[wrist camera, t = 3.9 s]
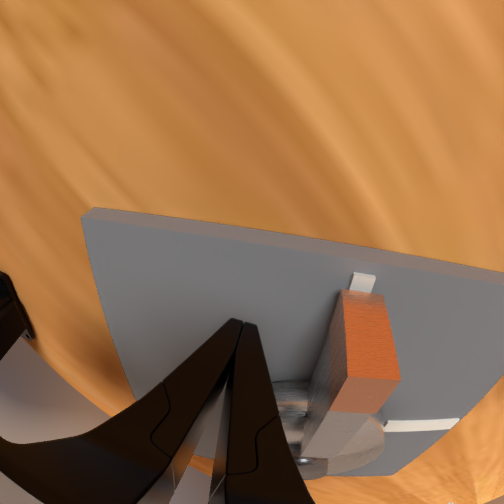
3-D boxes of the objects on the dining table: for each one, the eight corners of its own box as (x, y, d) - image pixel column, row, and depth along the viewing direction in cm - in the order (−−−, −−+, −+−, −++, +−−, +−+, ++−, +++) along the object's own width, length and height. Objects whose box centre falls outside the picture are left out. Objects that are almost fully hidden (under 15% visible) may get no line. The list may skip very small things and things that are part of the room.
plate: (159, 434, 23) (155, 445, 22) (94, 207, 12) (77, 218, 11) (391, 466, 21) (392, 477, 20) (549, 282, 9) (559, 297, 8)
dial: (351, 454, 17) (349, 501, 14) (225, 439, 18) (213, 486, 15) (465, 302, 9) (499, 379, 6) (232, 267, 10) (197, 351, 7)
